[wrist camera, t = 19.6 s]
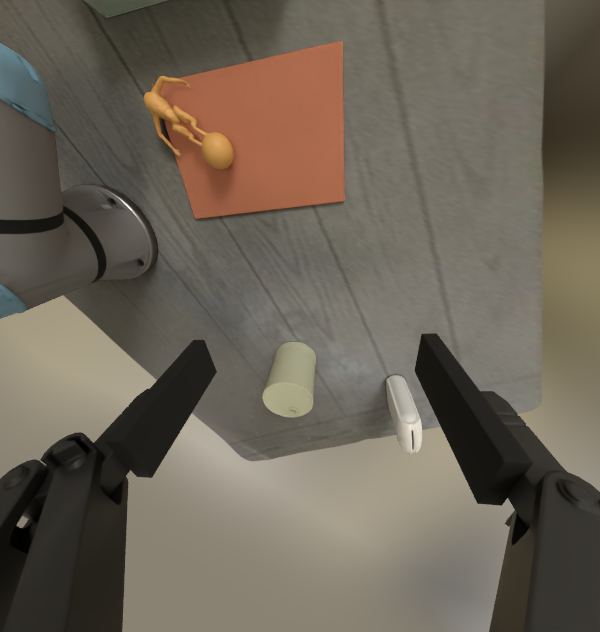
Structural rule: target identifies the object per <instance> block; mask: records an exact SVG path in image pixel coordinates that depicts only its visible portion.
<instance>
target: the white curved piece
mask: <svg viewBox="0 0 600 632" xmlns="http://www.w3.org/2000/svg"><path fill="white" fill-rule="evenodd" d="M386 391H387V401H388V406H389V410H390V413H391V417H392V420H393V424H394V428H395V431H396V435H397V439H398V442H399V444H400V446H401V448H402V449H403V450H404V451H406V452H407V453H416V452H418V451H419V449H420V447H421V444H422V425H421V420H420V417H419V414H418V411H417V409H416V406H415V404H414V401H413V399H412V396H411V394H410V391H409V389H408V386H407V384H406V381H405V379H404V378H403V377H401V376H399V375H393V376H390V377H389V378H387V380H386Z"/></svg>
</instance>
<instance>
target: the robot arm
mask: <svg viewBox="0 0 600 632" xmlns="http://www.w3.org/2000/svg"><path fill="white" fill-rule="evenodd" d="M55 133H57V130H56V127H55V126H54V125H53V121H52V116H51V111H50V106H49V100H48V94H47V89H46V86H45V84H44V82H43V80H42V78H41V77H40V75H39V74H38V72H37V71H36V70H35V69H34V67H33V66H32V65H31V64H30V63H29V62H28V61H26V60H25V59H24V58H23V57H22V56H20V55H19V54H17V53H16V52H14V51H13V50H11V49H9V48H8V47H6V46H4V45H3V44H1V43H0V318H3V317H6V316H9V315H12V314H15V313H22V312H24V311H26V310H28V309H31V308H33V307H35V306H38V305H40V304H43V303H45V302H47V301H50V300H52V299H55V298H57V297H59V296H62V295H64V294H67V293H69V292H71V291H74V290H76V289H78V288H81V287H83V286H86V285H88V284H90V283H93V282H96V281H99V280H117V279H132V278H135V277H138V276H140V275H142V274H144V273H146V272H148V271H149V270H150V269H151V268H152V267H153V265H154V263H155V261H156V258H157V242H156V238H155V234H154V232H153V229H152V227H151V225H150V223H149V221H148V220H147V218H146V217H145V215H144V214H143V213H142V211H141V210H140V209H139V208H138V207H137V206H136V205H135V204H134V203H133V202H132V201H131V200H130V199H129V198H127V197H126V196H125V195H123V194H122V193H120V192H118V191H116V190H114V189H112V188H109V187H106V186H102V185H77V186H74V187H72V188H70V189H67V190H65V191H63V192H61V187H60V179H59V170H58V160H57V150H56V141H55ZM216 372H217V371H216V369H215V366H214V364H213V361H212V358H211V356H210V353H209V351H208V348H207V346H206V343H205V341H204V340H193V341H192V342H191V343H190V345H189V346H188V347H187V348H186V349H185V350H184V351H183V352H182V353H181V355H180V356H179V357H178V358H177V359H176V360H175V361H174V362H173V364H172V365H171V366H170V367H169V368H168V369H167V370H166V371H165V372H164V374H163V375H162V376H161V377H160V378H159V379H158V380H157V381H156V383H155V384H154V385H153V386H152V387H151V388H150V389H147V390H145V391H144V392H142V393H141V394H140V395H138V396H137V397H136V398H135V399H134V400H133V402H132V403H130V405H129V407H127V408H126V409H125V410H124V411H123V412H122V414H121V415H119V416H118V418H117V419H116V420H115V421H114V422H113V423H112V424H111V425H110V426H109V427H108V428H107V429H106V431H105V432H104V433H103V434H102V435H101V436H100V437H99V438H98V439H97V440H96V441H95V442H94V443H93V442H92V441H91V440H90V439H89V438H88V437H87V436H86V435H85V434H83V433H74V434H71V435H68V436H66V437H64V438H63V439H61V440H59V441H58V442H56V443H55V444H54V445H52V446H51V447H50V448H49V449H48V450H47V451H46V452H45V453H44V455H43V457H42V458H41V461H42V462H44V463H45V464H46V465H47V466H45V465H44V464H42V463H41V462H40V461H38V460H30V461H27V462H25V463H22V464H20V465H18V466H17V467H15V468H13V469H12V470H10V471H9V472H8V473H7V474H5V475H4V476H3V477H2V478H1V479H0V632H122V622H123V597H124V573H125V549H126V547H125V546H126V523H127V522H126V521H127V500H128V479H127V477H126V475H127V473H128V472H129V471H130V470H131V471H132V472H133V473H134V474H135V475H136V476H137V477H149V478H151V477H153V475H154V473H155V472H156V470H157V468H158V467H159V465H160V463H161V462H162V460H163V459H164V457H165V455H166V454H167V452H168V450H169V449H170V447H171V446H172V444H173V442H174V441H175V439H176V437H177V436H178V434H179V433H180V431H181V429H182V427H183V426H184V424H185V423H186V421H187V419H188V418H189V416H190V415H191V413H192V411H193V410H194V408H195V406H196V405H197V403H198V402H199V400H200V398H201V397H202V395H203V393H204V392H205V390H206V388H207V387H208V385H209V384H210V382H211V380H212V379H213V377H214V375H215V374H216ZM415 373H416V375H417V377H418V379H419V381H420V383H421V385H422V388H423V390H424V392H425V394H426V396H427V398H428V400H429V402H430V404H431V406H432V409H433V411H434V413H435V415H436V417H437V419H438V421H439V423H440V425H441V428H442V430H443V432H444V434H445V436H446V438H447V440H448V442H449V444H450V446H451V448H452V451H453V452H454V455H455V457H456V459H457V461H458V463H459V465H460V468H461V470H462V472H463V474H464V476H465V478H466V480H467V482H468V484H469V486H470V489H471V491H472V493H473V495H474V497H475V499H476V501H477V503H478V504H491V505H502V504H503V503H504V502H505V500H506V499H507V498H509V500H510V502H511V504H512V505H513V507H514V509H515V511H514V512H513V513H512V515H511V516H510V517H509V518H508V520H507V521H506V523H505V524H506V525H507V526H510V530H509V536H508V540H507V545H506V550H505V555H504V560H503V565H502V570H501V576H500V580H499V585H498V590H497V595H496V601H495V605H494V610H493V615H492V621H491V625H490V631H489V632H600V492H599V491H598V490H597V489H595V488H594V487H593V486H592V485H591V484H589V483H588V482H586V481H584V480H583V479H581V478H580V477H578V476H575V475H573V474H571V473H568V472H567V471H566V470H565V469H564V468H563V467H562V466H561V465H560V464H559V463H558V461H557V460H556V459H555V458H554V457H553V456H552V454H551V453H550V452H549V451H548V450H547V449H546V447H545V446H544V445H543V444H542V443H541V441H540V440H539V439H538V438H537V436H536V435H535V434H534V433H533V432H532V431H531V429H530V428H529V427H528V426H526V424H525V422H524V421H523V420H522V419H521V417H520V416H518V415H517V413H516V412H515V410H514V409H513V408H512V407H511V406H510V404H509V403H508V402H507V401H506V400H504V399H503V398H501V397H500V396H499V395H497V394H496V393H495V392H492V391H479V389H478V388H477V387H476V385H475V384H474V383H473V381H472V380H471V379H470V377H469V376H468V375H467V373H466V372H465V371H464V369H463V368H462V367H461V365H460V364H459V363H458V361H457V360H456V359H455V357H454V356H453V355H452V353H451V352H450V351H449V349H448V348H447V347H446V345H445V344H444V343H443V341H442V340H441V339H440V337H439V336H438V335H437V334H422V335H421V340H420V345H419V351H418V356H417V361H416V366H415ZM21 516H24V517H26V518H27V519H29V520H28V521H27V523H26V524H25V526H24V527H23V528H19V527H17V526H16V525H17V523H18V521H19V520H20V518H21Z"/></svg>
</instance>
